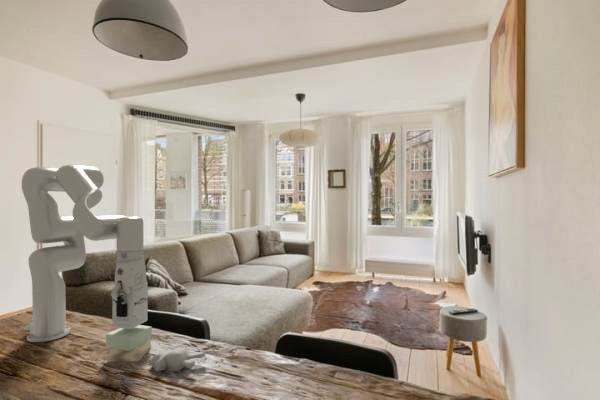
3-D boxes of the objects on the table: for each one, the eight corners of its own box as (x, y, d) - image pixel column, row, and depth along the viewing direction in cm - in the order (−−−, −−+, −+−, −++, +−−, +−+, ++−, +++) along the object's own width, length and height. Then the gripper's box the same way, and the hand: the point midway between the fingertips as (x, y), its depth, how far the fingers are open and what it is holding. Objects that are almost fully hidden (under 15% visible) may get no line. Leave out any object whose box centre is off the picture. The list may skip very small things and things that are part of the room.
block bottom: (108, 362, 100) (108, 349, 100) (122, 349, 109) (122, 337, 109) (138, 362, 101) (138, 348, 101) (150, 348, 110) (150, 336, 110)
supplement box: (132, 329, 101) (132, 287, 101) (111, 327, 102) (111, 286, 102) (148, 320, 108) (148, 281, 108) (128, 319, 110) (128, 280, 110)
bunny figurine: (162, 344, 103) (206, 343, 100) (164, 361, 103) (208, 360, 100) (141, 359, 94) (189, 358, 90) (143, 377, 94) (191, 377, 90)
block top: (106, 347, 102) (106, 333, 102) (129, 335, 111) (129, 323, 111) (129, 351, 99) (129, 337, 99) (151, 339, 108) (151, 326, 108)
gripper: (123, 261, 96) (123, 322, 96) (156, 251, 113) (156, 303, 114) (99, 260, 97) (99, 321, 97) (136, 251, 114) (136, 303, 114)
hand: (130, 311), depth 105 cm, fingers closed on supplement box, 7 cm apart
